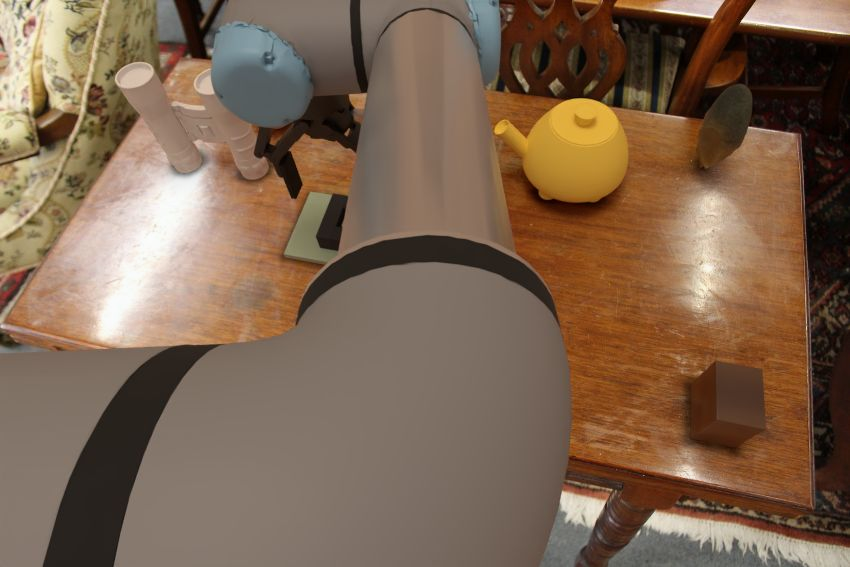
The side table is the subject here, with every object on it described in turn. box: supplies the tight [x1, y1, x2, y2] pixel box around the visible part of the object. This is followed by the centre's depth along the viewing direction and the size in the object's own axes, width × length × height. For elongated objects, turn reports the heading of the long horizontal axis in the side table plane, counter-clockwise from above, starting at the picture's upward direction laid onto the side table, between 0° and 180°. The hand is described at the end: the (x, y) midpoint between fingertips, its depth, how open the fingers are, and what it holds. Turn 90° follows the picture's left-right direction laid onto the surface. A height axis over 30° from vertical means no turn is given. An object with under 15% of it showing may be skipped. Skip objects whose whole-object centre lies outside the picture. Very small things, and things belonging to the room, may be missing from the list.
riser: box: [689, 360, 767, 448], centre depth 64 cm, size 7×5×8 cm
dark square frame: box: [316, 193, 348, 251], centre depth 82 cm, size 8×8×3 cm
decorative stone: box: [695, 83, 753, 170], centre depth 80 cm, size 10×6×15 cm, turn 162°
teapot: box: [493, 97, 630, 203], centre depth 82 cm, size 20×16×14 cm
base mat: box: [283, 191, 344, 266], centre depth 83 cm, size 12×18×4 cm, turn 77°
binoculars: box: [114, 61, 270, 181], centre depth 85 cm, size 17×5×18 cm, turn 81°
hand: (343, 198), depth 76 cm, fingers open, 13 cm apart
